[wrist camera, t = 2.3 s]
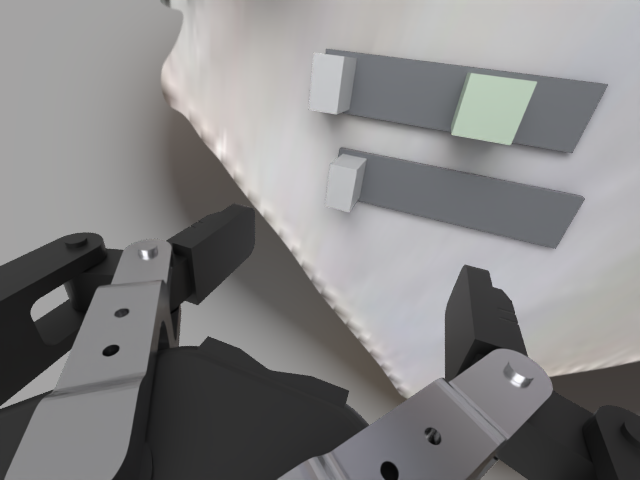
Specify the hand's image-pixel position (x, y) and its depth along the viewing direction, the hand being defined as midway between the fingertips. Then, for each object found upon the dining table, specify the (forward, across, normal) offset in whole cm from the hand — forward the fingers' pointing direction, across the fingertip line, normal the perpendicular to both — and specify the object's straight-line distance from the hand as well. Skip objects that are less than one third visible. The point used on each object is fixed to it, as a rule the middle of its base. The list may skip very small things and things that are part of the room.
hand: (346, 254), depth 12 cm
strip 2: (+28, -5, +6) cm, 29 cm away
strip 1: (+28, -2, -4) cm, 28 cm away
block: (+27, -6, -4) cm, 28 cm away
